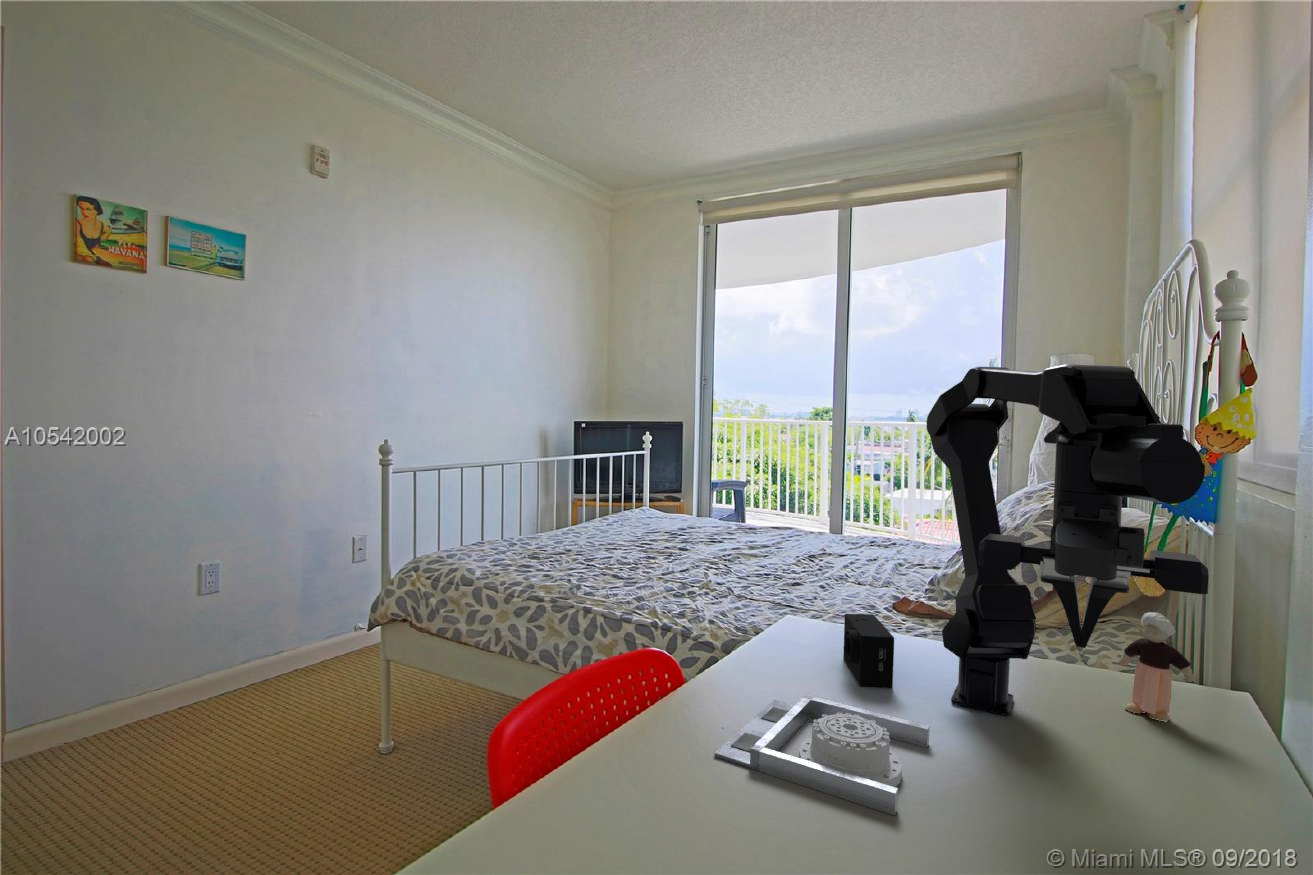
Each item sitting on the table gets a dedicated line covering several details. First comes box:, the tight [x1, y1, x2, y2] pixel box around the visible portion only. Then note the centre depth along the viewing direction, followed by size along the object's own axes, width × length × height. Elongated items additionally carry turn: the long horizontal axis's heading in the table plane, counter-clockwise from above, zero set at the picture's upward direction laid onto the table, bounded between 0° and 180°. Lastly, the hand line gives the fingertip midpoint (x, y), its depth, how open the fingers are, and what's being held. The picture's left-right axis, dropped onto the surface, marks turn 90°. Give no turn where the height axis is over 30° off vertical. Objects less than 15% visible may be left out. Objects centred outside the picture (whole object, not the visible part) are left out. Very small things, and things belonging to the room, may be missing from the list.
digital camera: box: [842, 613, 895, 690], centre depth 93 cm, size 10×5×7 cm, turn 176°
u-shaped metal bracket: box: [713, 694, 930, 816], centre depth 71 cm, size 16×18×2 cm
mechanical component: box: [798, 713, 903, 788], centre depth 68 cm, size 10×4×10 cm
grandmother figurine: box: [1118, 611, 1196, 721], centre depth 82 cm, size 8×4×13 cm, turn 47°
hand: (1080, 646), depth 67 cm, fingers closed
